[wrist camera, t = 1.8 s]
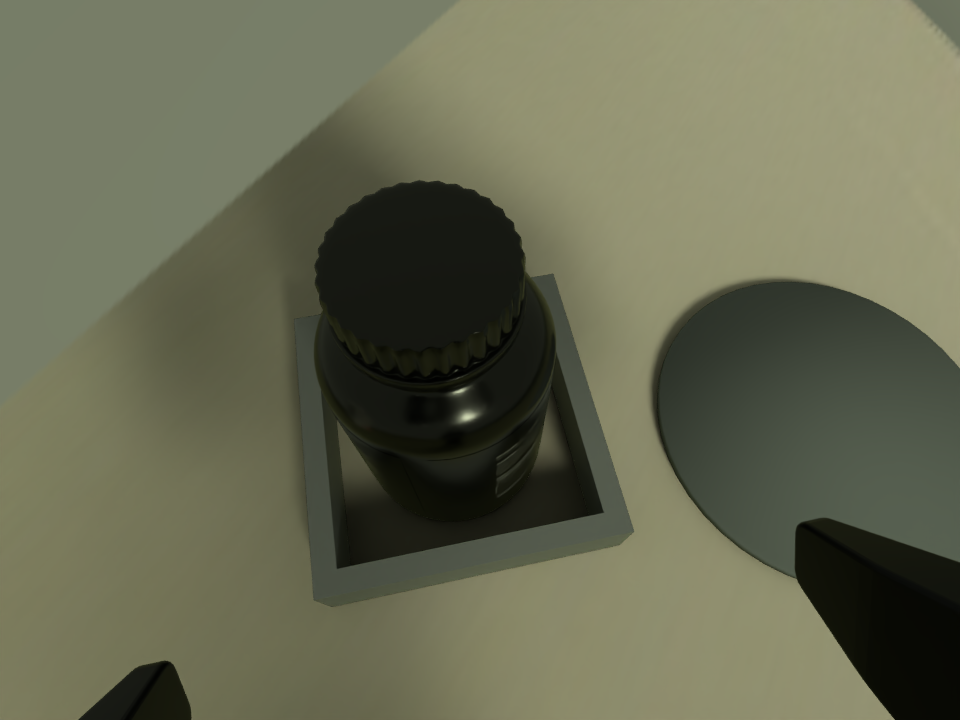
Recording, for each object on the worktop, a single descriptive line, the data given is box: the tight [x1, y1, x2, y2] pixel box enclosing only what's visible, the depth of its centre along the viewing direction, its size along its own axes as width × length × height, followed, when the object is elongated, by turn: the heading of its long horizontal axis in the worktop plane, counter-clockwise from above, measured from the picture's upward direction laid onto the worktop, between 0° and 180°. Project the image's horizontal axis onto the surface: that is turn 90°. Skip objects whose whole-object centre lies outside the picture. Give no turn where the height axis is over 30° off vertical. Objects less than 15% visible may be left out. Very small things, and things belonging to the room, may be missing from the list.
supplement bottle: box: [314, 180, 556, 521], centre depth 19 cm, size 7×7×12 cm
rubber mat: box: [657, 282, 960, 579], centre depth 24 cm, size 13×13×1 cm
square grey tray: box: [294, 274, 634, 607], centre depth 23 cm, size 11×11×2 cm
